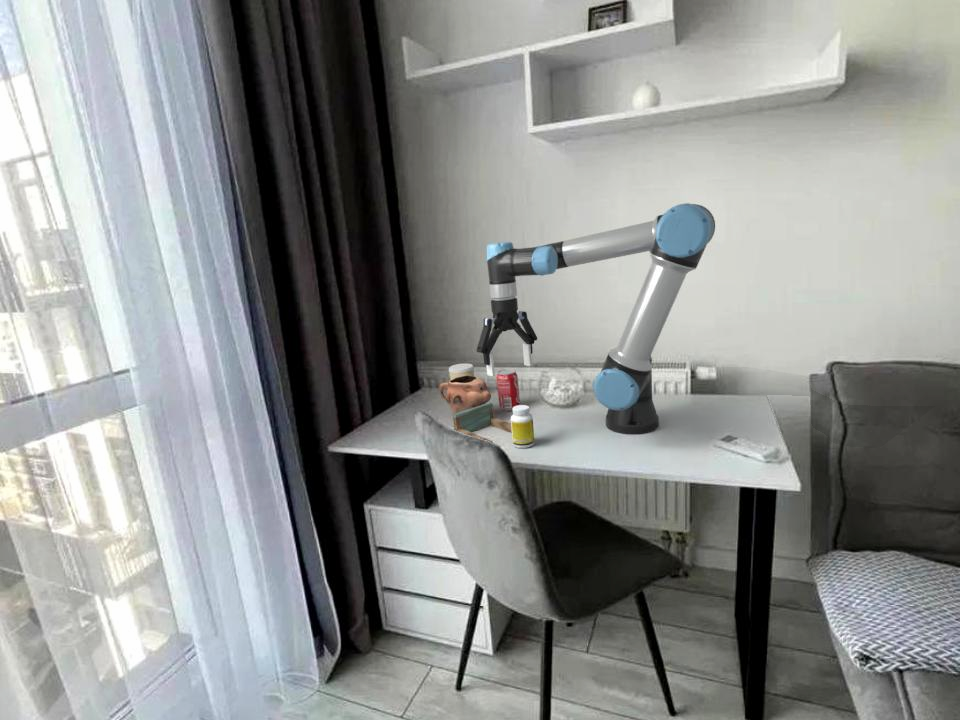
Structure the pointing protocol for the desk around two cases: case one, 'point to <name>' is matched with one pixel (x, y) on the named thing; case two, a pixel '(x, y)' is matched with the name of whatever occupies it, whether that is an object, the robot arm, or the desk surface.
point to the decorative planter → (465, 393)
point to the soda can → (508, 389)
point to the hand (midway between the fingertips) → (510, 370)
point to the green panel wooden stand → (478, 420)
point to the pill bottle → (522, 427)
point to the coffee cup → (461, 370)
